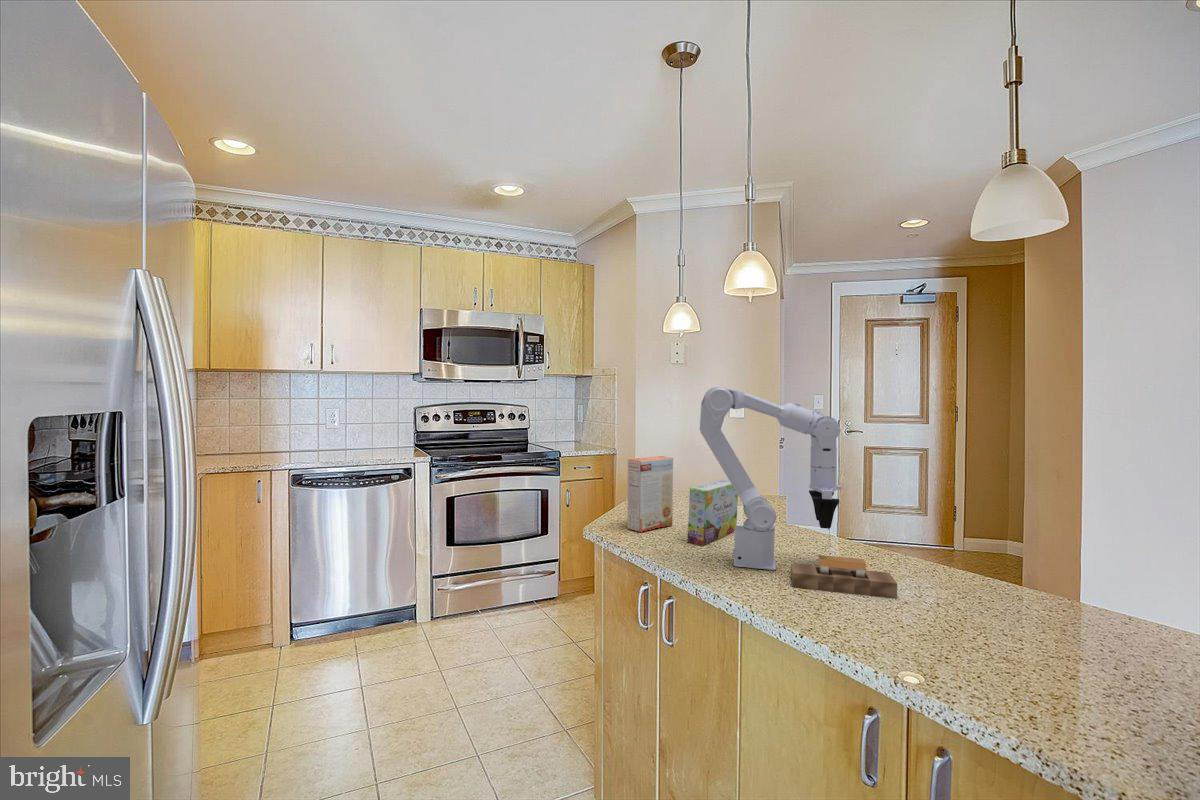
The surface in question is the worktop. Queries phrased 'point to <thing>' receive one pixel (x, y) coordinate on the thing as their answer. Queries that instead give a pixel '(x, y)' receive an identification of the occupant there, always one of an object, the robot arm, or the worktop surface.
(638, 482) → the cracker box
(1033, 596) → the worktop surface
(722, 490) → the snack box
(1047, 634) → the worktop surface
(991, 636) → the worktop surface
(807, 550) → the worktop surface
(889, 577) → the brown wooden peg board
